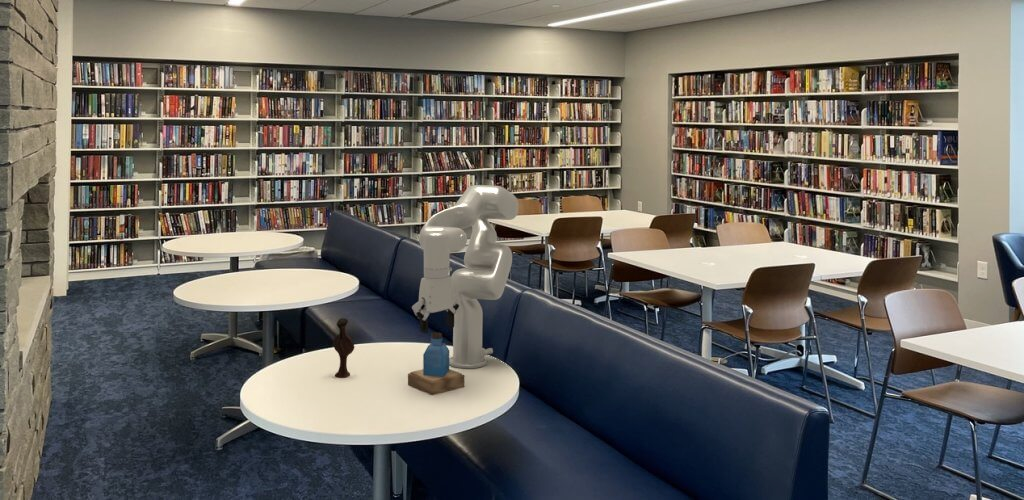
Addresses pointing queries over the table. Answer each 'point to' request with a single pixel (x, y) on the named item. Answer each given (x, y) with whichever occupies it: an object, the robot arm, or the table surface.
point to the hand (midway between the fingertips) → (437, 329)
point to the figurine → (343, 348)
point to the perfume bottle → (436, 357)
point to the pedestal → (435, 381)
